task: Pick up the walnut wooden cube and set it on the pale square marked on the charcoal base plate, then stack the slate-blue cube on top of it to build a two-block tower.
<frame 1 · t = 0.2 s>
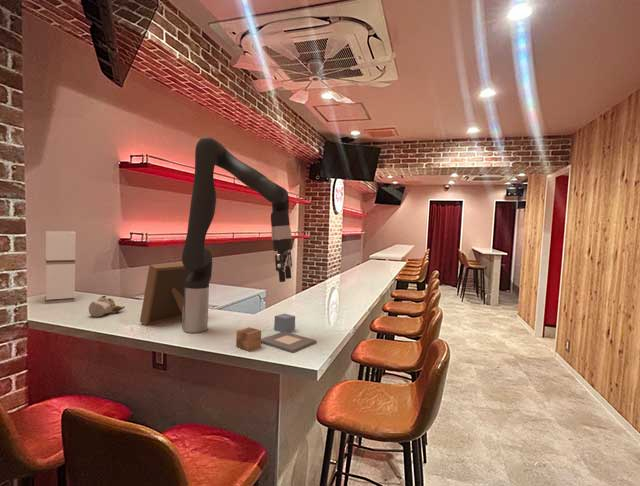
hand: (285, 280, 133), 22 cm above the table, fingers open, 8 cm apart
photo frame: (174, 322, 148), on the table
walnut block: (248, 347, 121), on the table
white stacked pillar: (59, 301, 175), on the table
slate block: (284, 330, 143), on the table
base plate: (287, 342, 127), on the table
ceramic sculpture: (104, 314, 154), on the table
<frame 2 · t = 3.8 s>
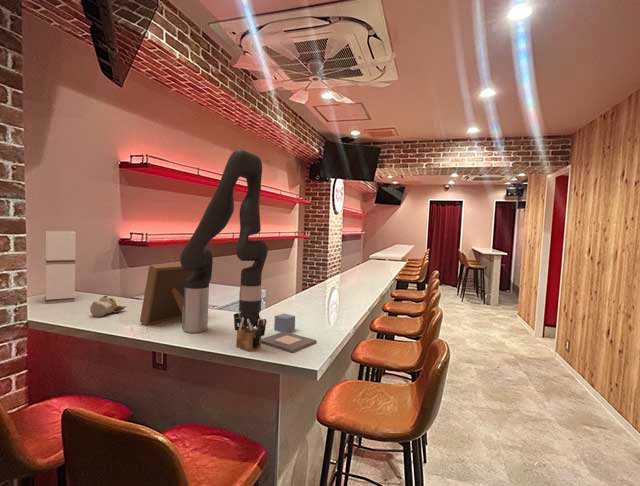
hand: (248, 345, 121), 1 cm above the table, fingers closed on walnut block, 6 cm apart
walnut block: (248, 347, 121), on the table, touching gripper
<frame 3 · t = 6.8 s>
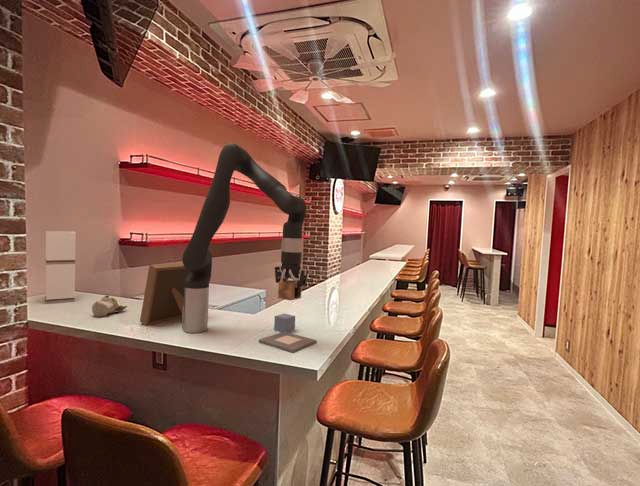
hand: (289, 296, 127), 17 cm above the table, fingers closed on walnut block, 6 cm apart
walnut block: (289, 298, 127), point 17 cm above the table, touching gripper
when the fingers open (3 cm above the table, at t = 9.9 s): walnut block drops 1 cm, resting on base plate.
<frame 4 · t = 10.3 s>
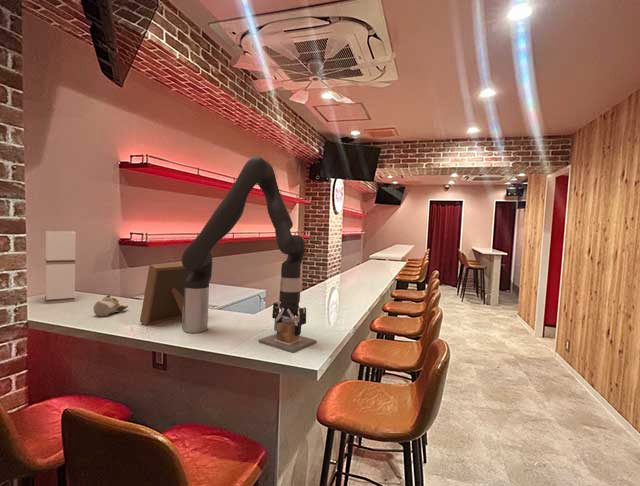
hand: (288, 333, 127), 4 cm above the table, fingers open, 8 cm apart
walnut block: (287, 339, 127), point 1 cm above the table, touching base plate
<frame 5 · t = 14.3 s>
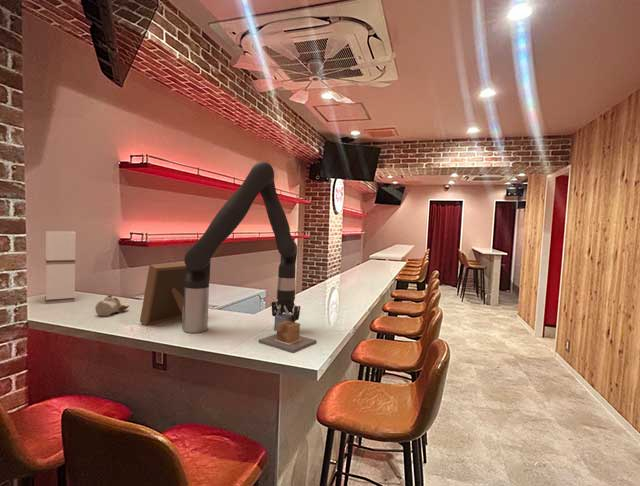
hand: (284, 328, 143), 1 cm above the table, fingers closed on slate block, 6 cm apart
slate block: (284, 330, 143), on the table, touching gripper
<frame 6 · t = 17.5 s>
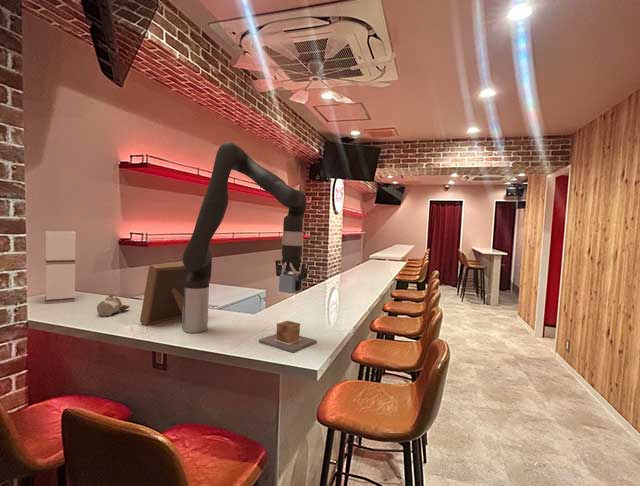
hand: (290, 289, 127), 20 cm above the table, fingers closed on slate block, 6 cm apart
slate block: (290, 291, 127), point 19 cm above the table, touching gripper
when the fingers open (9 cm above the table, at t = 20.6 s): slate block stays where it is, resting on walnut block.
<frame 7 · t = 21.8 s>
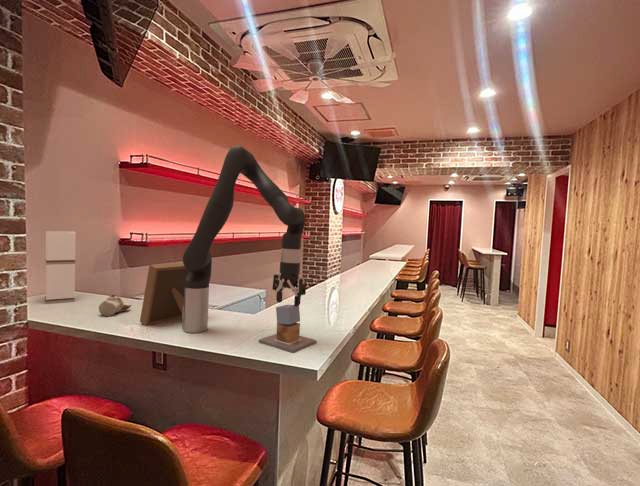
hand: (287, 304, 129), 14 cm above the table, fingers open, 8 cm apart
walnut block: (287, 339, 127), point 1 cm above the table, touching base plate, slate block
slate block: (288, 322, 127), point 8 cm above the table, tilted 9°, touching walnut block
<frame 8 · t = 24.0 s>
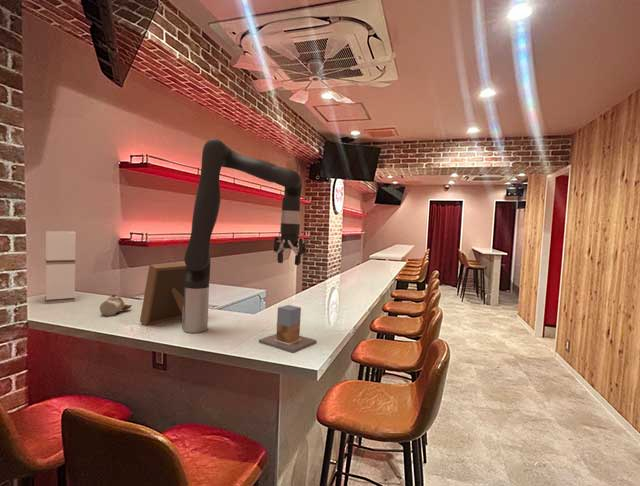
hand: (288, 263, 136), 28 cm above the table, fingers open, 8 cm apart
slate block: (288, 323, 127), point 7 cm above the table, touching walnut block
at the end: walnut block 0.0 cm off-centre on the base plate, point 1.1 cm above the base plate's base; slate block 0.1 cm off-centre on the walnut block, point 6.0 cm above the walnut block's base; slate block tilted 0° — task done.
